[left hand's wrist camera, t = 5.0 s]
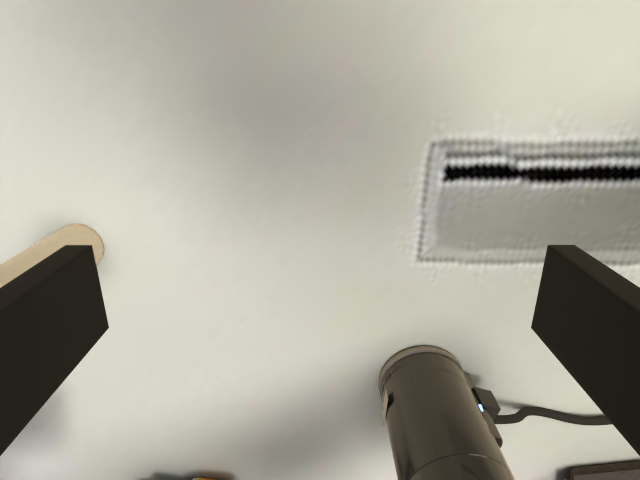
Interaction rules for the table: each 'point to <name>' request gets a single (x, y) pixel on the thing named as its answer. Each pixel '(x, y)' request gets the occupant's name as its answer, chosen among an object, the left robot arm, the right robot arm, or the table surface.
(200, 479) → the spray gun
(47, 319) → the left robot arm
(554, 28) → the table surface
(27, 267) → the jar
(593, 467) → the toy
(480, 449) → the right robot arm
